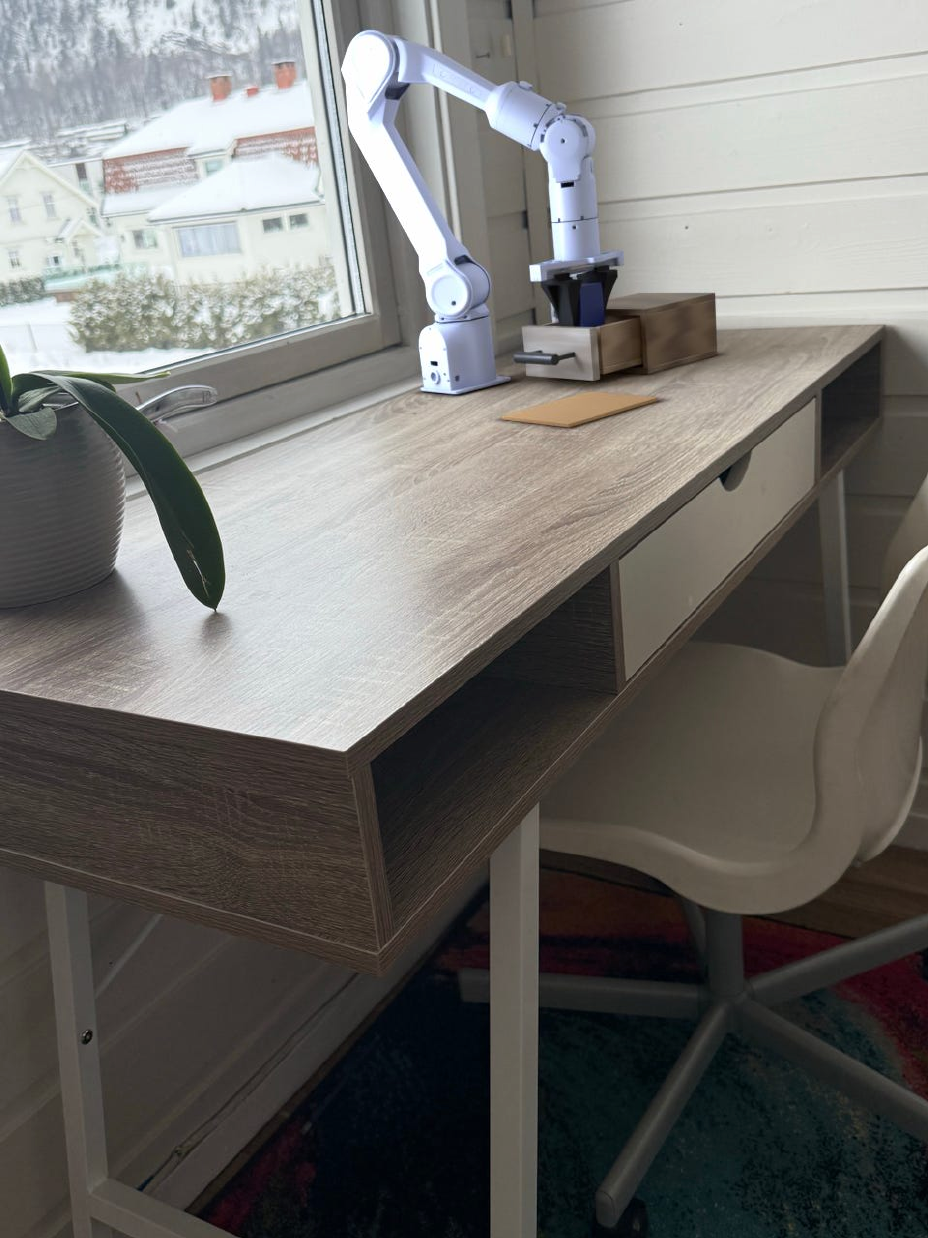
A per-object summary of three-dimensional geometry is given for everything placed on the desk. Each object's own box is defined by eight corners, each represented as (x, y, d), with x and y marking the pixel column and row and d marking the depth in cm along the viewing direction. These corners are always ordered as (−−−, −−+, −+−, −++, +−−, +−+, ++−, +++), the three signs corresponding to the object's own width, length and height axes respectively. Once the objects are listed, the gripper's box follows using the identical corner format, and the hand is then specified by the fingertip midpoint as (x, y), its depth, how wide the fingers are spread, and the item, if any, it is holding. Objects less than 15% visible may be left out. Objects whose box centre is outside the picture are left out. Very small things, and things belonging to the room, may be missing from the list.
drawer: (568, 387, 138) (564, 334, 136) (502, 382, 148) (496, 332, 145) (662, 362, 148) (659, 312, 145) (593, 358, 157) (590, 311, 155)
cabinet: (648, 374, 146) (644, 309, 143) (573, 369, 156) (568, 308, 153) (717, 354, 153) (715, 292, 150) (642, 351, 163) (638, 292, 160)
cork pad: (569, 427, 122) (568, 423, 121) (501, 419, 130) (501, 415, 130) (658, 400, 129) (658, 397, 129) (589, 394, 138) (589, 391, 137)
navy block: (584, 351, 144) (579, 286, 142) (562, 350, 147) (557, 286, 145) (606, 345, 147) (602, 281, 144) (584, 344, 150) (579, 281, 147)
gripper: (554, 225, 134) (563, 342, 139) (639, 211, 143) (645, 323, 147) (514, 228, 140) (524, 341, 145) (598, 214, 148) (605, 322, 153)
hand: (582, 332), depth 146 cm, fingers closed on navy block, 4 cm apart
